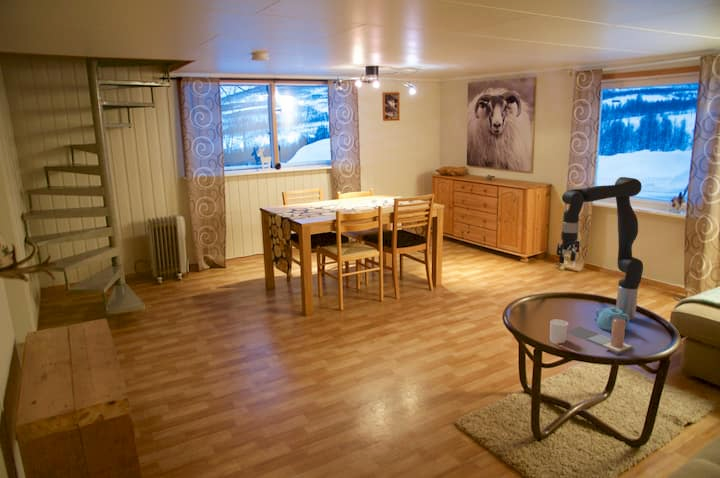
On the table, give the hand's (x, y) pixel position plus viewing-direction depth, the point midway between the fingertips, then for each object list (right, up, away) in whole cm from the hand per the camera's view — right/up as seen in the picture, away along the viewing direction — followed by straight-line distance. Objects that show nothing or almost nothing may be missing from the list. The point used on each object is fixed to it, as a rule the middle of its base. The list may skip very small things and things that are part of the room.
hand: (567, 262), depth 253 cm
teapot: (+22, -34, 0) cm, 41 cm away
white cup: (-11, -38, -15) cm, 42 cm away
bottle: (+14, -37, -23) cm, 46 cm away
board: (+8, -37, -14) cm, 41 cm away
